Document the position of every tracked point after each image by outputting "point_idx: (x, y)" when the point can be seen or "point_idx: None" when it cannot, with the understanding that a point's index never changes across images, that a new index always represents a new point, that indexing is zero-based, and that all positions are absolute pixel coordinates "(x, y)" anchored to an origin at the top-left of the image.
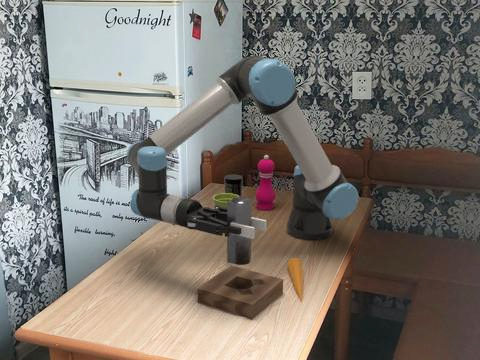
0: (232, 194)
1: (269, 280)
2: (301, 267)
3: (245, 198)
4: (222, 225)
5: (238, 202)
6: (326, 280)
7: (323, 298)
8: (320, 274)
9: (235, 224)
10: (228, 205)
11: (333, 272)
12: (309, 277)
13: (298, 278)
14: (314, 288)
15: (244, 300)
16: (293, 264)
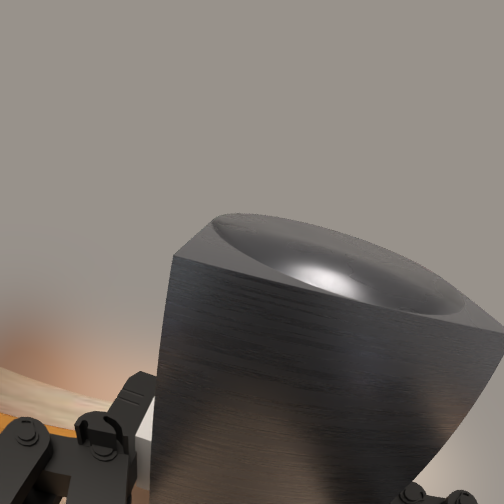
0: None
1: (136, 495)
2: (9, 415)
3: (237, 225)
4: (451, 495)
5: (406, 270)
6: (39, 389)
7: None
8: (10, 394)
9: None
10: (477, 372)
11: (4, 371)
12: (23, 416)
13: (66, 433)
14: (79, 416)
15: None
16: (4, 427)
